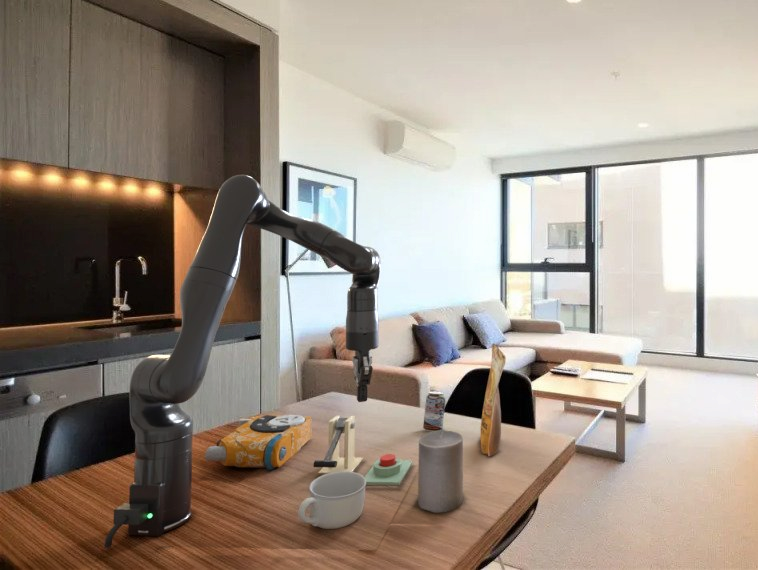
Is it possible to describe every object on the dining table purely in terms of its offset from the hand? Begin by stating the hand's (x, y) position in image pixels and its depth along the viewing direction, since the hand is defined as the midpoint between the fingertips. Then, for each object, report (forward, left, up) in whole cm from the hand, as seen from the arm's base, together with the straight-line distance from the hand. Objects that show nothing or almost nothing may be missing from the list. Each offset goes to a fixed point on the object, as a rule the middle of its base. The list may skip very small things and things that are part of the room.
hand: (362, 400), depth 109 cm
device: (+16, +33, -19) cm, 42 cm away
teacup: (-19, -1, -19) cm, 27 cm away
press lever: (+3, +7, -12) cm, 14 cm away
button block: (+2, -6, -19) cm, 20 cm away
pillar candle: (-9, -21, -19) cm, 30 cm away
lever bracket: (+6, +7, -19) cm, 21 cm away
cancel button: (+2, -6, -16) cm, 17 cm away
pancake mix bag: (+23, -30, -19) cm, 42 cm away
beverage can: (+34, -11, -19) cm, 41 cm away
